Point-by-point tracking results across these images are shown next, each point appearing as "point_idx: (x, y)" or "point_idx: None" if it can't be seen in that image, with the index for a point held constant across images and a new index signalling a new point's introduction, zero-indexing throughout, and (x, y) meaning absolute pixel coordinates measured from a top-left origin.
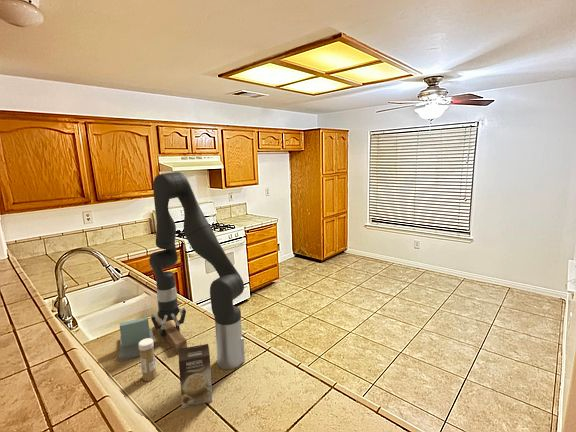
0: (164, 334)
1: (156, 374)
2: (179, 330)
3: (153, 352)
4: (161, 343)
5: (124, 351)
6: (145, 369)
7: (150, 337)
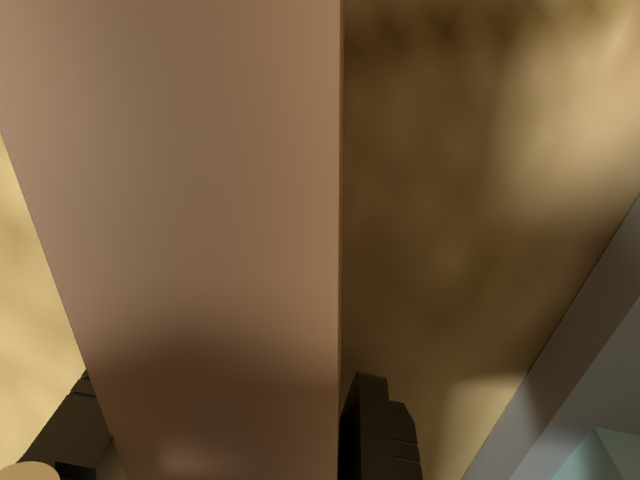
0: (366, 414)
1: None
2: None
3: None
4: (448, 285)
5: None
6: None
7: (548, 475)
